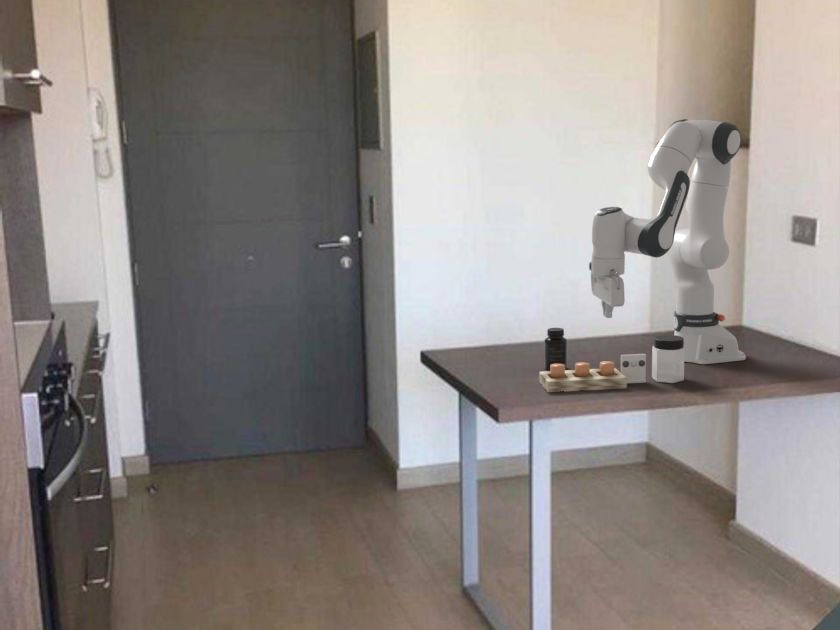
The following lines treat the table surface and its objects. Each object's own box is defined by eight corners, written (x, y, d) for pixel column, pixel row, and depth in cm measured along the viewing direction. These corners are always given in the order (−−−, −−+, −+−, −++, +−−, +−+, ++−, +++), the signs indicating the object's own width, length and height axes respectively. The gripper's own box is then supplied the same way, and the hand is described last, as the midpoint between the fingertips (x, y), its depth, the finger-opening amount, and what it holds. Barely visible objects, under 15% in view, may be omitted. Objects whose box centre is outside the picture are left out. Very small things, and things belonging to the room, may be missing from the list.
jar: (668, 384, 274) (669, 342, 271) (645, 379, 280) (646, 337, 278) (689, 379, 279) (691, 337, 276) (667, 373, 285) (668, 333, 283)
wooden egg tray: (615, 378, 282) (615, 367, 282) (626, 388, 271) (626, 377, 271) (539, 381, 280) (539, 371, 280) (547, 392, 270) (547, 381, 269)
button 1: (562, 373, 277) (563, 363, 276) (566, 377, 273) (566, 366, 272) (548, 374, 276) (548, 363, 276) (552, 378, 273) (552, 367, 272)
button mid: (587, 372, 277) (587, 362, 277) (591, 376, 273) (591, 365, 273) (573, 373, 277) (573, 362, 276) (577, 376, 273) (577, 366, 273)
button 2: (611, 371, 278) (612, 360, 277) (616, 374, 274) (616, 364, 273) (597, 371, 278) (598, 361, 277) (601, 375, 274) (602, 365, 273)
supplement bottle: (543, 365, 298) (543, 326, 296) (566, 365, 298) (566, 326, 296) (545, 371, 291) (545, 331, 289) (568, 371, 291) (568, 331, 289)
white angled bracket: (642, 379, 280) (643, 352, 278) (646, 382, 277) (646, 354, 275) (618, 380, 279) (618, 353, 277) (621, 383, 276) (621, 355, 275)
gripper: (630, 272, 260) (630, 324, 263) (609, 261, 280) (608, 309, 283) (607, 273, 260) (606, 325, 262) (587, 262, 280) (586, 310, 282)
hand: (607, 317), depth 273 cm, fingers closed
